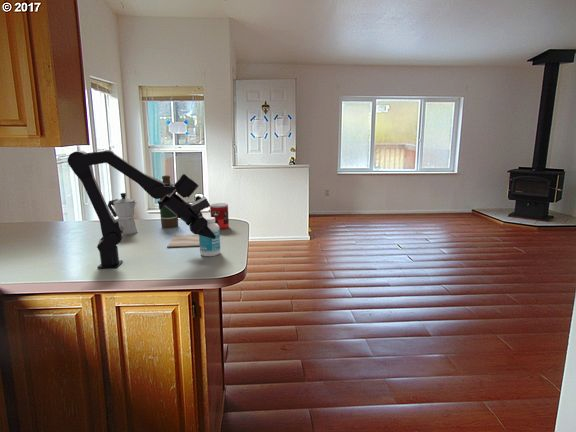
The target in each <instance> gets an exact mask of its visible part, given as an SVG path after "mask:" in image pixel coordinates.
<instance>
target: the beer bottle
mask: <svg viewBox="0 0 576 432" xmlns="http://www.w3.org/2000/svg"><path fill="white" fill-rule="evenodd" d="M161 179H162V182H163V183H164V184H171V176H170V175H162V176H161ZM170 194H171V193H169V194H165V196H166V195H168V196H169V195H170ZM165 196H164V197H165ZM164 197H163V198H164ZM163 198H161V199H159V201H161V200H162V199H163ZM159 210H160V209H159ZM160 223H161V227H162V228H164V229H172V228H176V227H178V226H179V218H178V217H177V216H176V215H175V214H174V213H173V212H172V211H170V210H169V209H168V208H167V207H165V206H164V207H163V208H162V209H161V210H160Z"/></svg>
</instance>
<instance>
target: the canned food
mask: <svg viewBox="0 0 576 432" xmlns="http://www.w3.org/2000/svg"><path fill="white" fill-rule="evenodd" d="M209 209H210V217H214V218H215V223H216V224H218V225H219V231H221V230H220V229H223V230H226V229H228V228H229V226H230V225H229V224H230V221H229V204H228V203H225V202H220V203H219V202H218V203H211V204H210V207H209Z"/></svg>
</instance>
